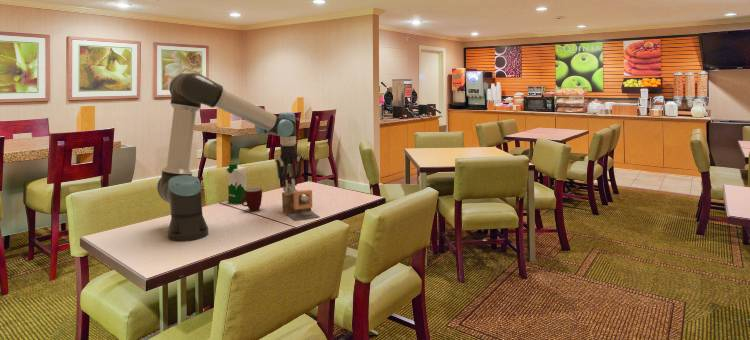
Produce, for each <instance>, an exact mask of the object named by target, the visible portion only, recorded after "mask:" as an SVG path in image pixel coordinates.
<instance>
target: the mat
mask: <svg viewBox="0 0 750 340" xmlns="http://www.w3.org/2000/svg"><path fill="white" fill-rule="evenodd" d="M286 216H287V217H289V218H290V219H291V220H293V221H295V222H297V221H303V220H310V219H319V218H321V216H320V215H318V214H317V213H315V212H313V211H312V210H311V211H307V212H300V213H292V214H287V215H286Z"/></svg>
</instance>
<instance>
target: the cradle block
mask: <svg viewBox="0 0 750 340" xmlns="http://www.w3.org/2000/svg"><path fill="white" fill-rule="evenodd" d="M299 191H301V190H300V189H299ZM305 195H306V196H307V194H305ZM281 202H282V203H281V204H282V213H283V214H285V215H286V216H287V214H292V213H300V212H307V211H312V208H305V209H297V210H295V209H294V195H293V193H292V192H284V191H283V192H281ZM300 204H307V202H303V201H302V200H300V199H299V205H300Z"/></svg>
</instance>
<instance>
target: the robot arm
mask: <svg viewBox="0 0 750 340" xmlns="http://www.w3.org/2000/svg"><path fill="white" fill-rule="evenodd" d="M168 89H169V94H170V95H171V96H170V105H171V107H172V108H173V114H172V120H171V128H170V135H169V137H170V138H169V147H168V154H167V159H166V160H167V162H166V166H165V167H164V168H162V170H161V176H160V178H159V179H158V182H157V183H156V191H157V193H158V195H159V197H160V198H161V199H162V200H163V201H165V202H167V203H169V205H170V218H171V219H170V222H169V225H168V229H167V238H168V240H171V241H175V240H176V242H178V241H179V242H180V241H181V242H183V241H186V240H188V241H194V240H198V239H202V238H205V237H206V236H207V235H209V227H208V225H207V222H206V220H205V217H204V215H203V214H204V213H203V201H202V185H201V180H200V179H199V178H198V177H197V176H194V175H193V172H192V171H191V170H190V162H191V155H192V147H193V139H194V131H195V123H196V117H197V116H196V115H197V112H198V111H199V110H200V109H201V105H205V106H208V107H210V108H212V109H213V108H218V109H220V110H223V111H224V112H225V113H226V112H227V113H229V114H231V115H233V116H235V117H236V118H237V117H238V118H240V119H242V120H244V121H245V122H248V123H250V124H253V125H254V130H255V132H256V134H258V135H271V136H277V137H280V138H279V139H280V141H279V142H280V156H279V157H278V158H275V159H274V161H275V164H276V169H277V171H276V172H277V177H278V179H279V180H282V181H281V183H282V187H285V192H288V184H289V183H288V182H289V181H288V179H287V174H288V166H289V165H290V169H291V173H292V175H291V176H292V178H291V185H292V188H294V189H296V186H297V184H298V183H297V182H298V181H297V180H298V179H299V178H301V173H302V172H301V171H302V162H303V157H300V156H298V154H297V145H296V144H297V132H296V131H297V129H296V127H297V125H296V122H297V121H296V114H295V113H294V112H288V111H287V112H286V111H285V112H280V113H278V114H279V115H278V116H277V115H276V114H274V113H272V112H270V111H267V110H266V109H264V108H262V107H260V106H258V105H255V104H253V102H252V103H251V102H250V101H248V100H245V99H243V98H242V97H239V96H238V95H236V94H233V93H232V92H230V91H228V90H225V88H224V86H222V85H221V84H220V83H217V82H216V81H214V80H212V79H210V78H208V77H206V76H204V74H200V73H196V72H191V73H190V72H189V73H187V72H183V73H180V74H177V75H176V76H174V77H173V78H172V79H171V81H170V82H169V87H168ZM281 162H283V164H282V165H281ZM295 162H297V163H295ZM281 166H282V167H283V168H282V167H281Z"/></svg>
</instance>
